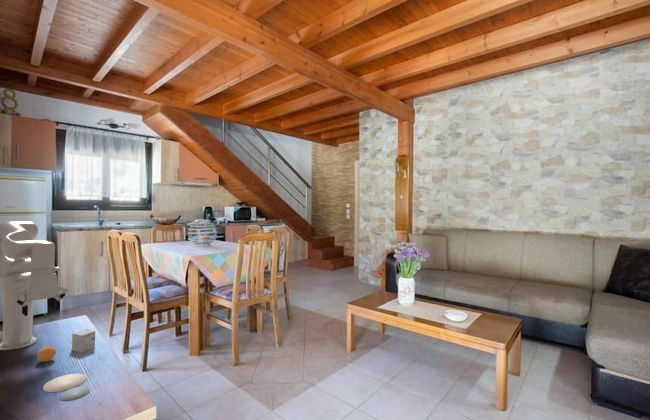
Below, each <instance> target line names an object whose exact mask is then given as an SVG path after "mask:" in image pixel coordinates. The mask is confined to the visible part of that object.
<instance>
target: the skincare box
mask: <svg viewBox="0 0 650 420" xmlns="http://www.w3.org/2000/svg"><path fill="white" fill-rule="evenodd" d="M71 336H72V338H71V340H72V341H71V351H73V352H75V353H76V352H77V353H84V352H86V351H88V350H89V351H90V350H92V349H95V348H96V330H92V329H87V328H86V329H84V330H79V331H75V332H73V333H72V335H71Z"/></svg>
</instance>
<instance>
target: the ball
mask: <svg viewBox="0 0 650 420" xmlns="http://www.w3.org/2000/svg"><path fill="white" fill-rule="evenodd" d="M56 354H57V351H56V349H55V348H54V347H53V346H44V347H42V348H41V349H39V351H38V352H37V360H38V361H39V362H42V363H47V362H49V361H51V360H53V359H54V357H55V356H56Z"/></svg>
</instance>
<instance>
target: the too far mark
mask: <svg viewBox="0 0 650 420" xmlns="http://www.w3.org/2000/svg"><path fill="white" fill-rule="evenodd" d="M90 391H91V388H90V387H89V386H77V387H74V388H72V389H69V390H65V391H62V393H61V394H60V395H59V400H60V401H63V402H64V401H65V402H68V401H69V400H70V401H74V400H78V399H80V398H83V397H85V396H87V395H88V394H89V393H90Z"/></svg>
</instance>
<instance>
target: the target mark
mask: <svg viewBox="0 0 650 420" xmlns="http://www.w3.org/2000/svg"><path fill="white" fill-rule="evenodd" d="M87 379H88V377H87V375H86V374H85V373H69V374H64V375H60V376H58V377H55V378H53V379H51V380H49V381H48V382H46V383H45V384H44V385H43V386H42V390H43V391H44V392H46V393H59V392H65V391H67V390H69V389H72V388H76V387H80V386H82V384H84V383H85V382H86V381H87Z"/></svg>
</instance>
